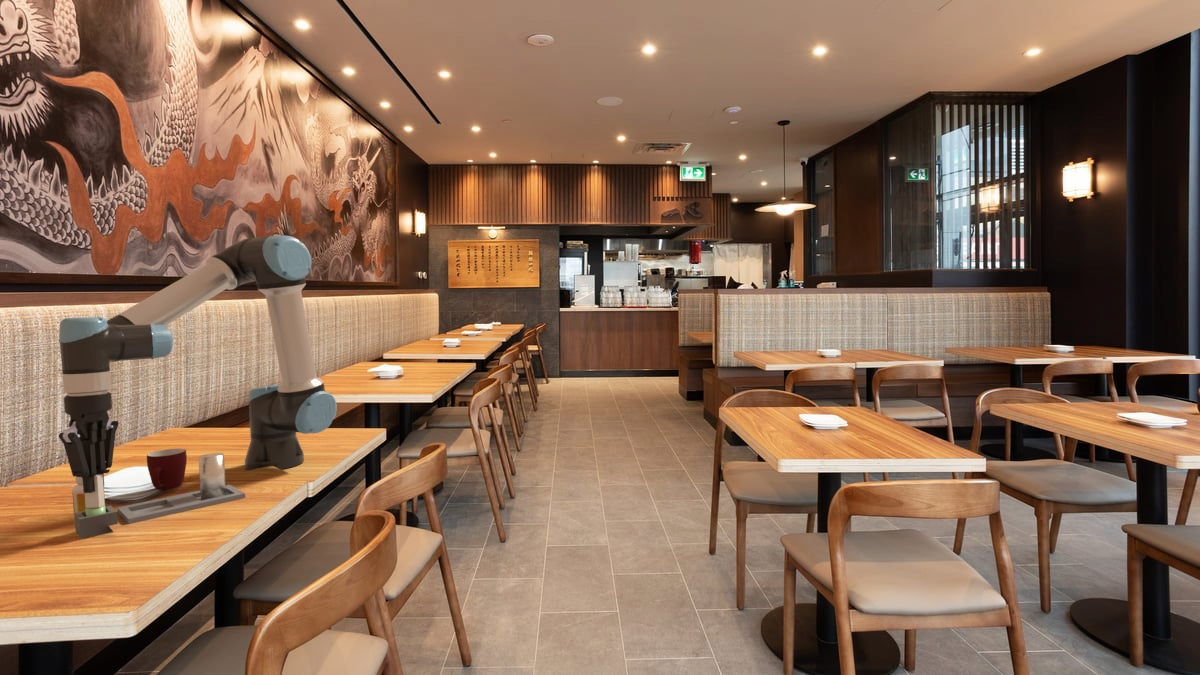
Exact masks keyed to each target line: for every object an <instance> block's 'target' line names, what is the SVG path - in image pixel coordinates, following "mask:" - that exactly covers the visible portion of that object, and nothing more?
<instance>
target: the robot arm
mask: <svg viewBox="0 0 1200 675" xmlns="http://www.w3.org/2000/svg"><path fill="white" fill-rule="evenodd" d="M311 268H312V256H311V253H310V252H309V249H308V248H307V247H306V245H305V244H304V243H303V242H302V241H300V240H299V239H298V238H296V237H295V236H292V235H283V234H282V235H281V234H280V235H279V234H274V235H269V236H267V235H266V236H257V237H247V238H244V239H242V240H240V241H237V242H235V243H233V244H231V245H229V246H228V247H226V248H224V249H223V250H221V251H219V252H217V253H216V254H214V255H212V256H210V257H209V258H207V259H206V262H205V265H203V266H201V267H199V268H198V269H196V270H194V271H193V272H191V273H189V274H188V275H185V276H184V277H181V278H180V279H178V280H176V281H175V282H173V283H171V284H170V285H168V286H166V287H164V288H163V289H161V290H158V291H157V292H156V293H155V292H154V294H152V295H151V296H149V297H147V298H144V299H143V300H141V301H139V302H138V303H136V304H135V305H133V306H131V307H129V308H127V309H125V310H124V311H122V312H120V313H118V314H117V315H115V316H113V317H111V318H109V319H106V318H105V317H101V316H98V317H97V316H94V317H93V316H92V317H67V318H66V317H65V318H64V319H62V320H61V321H60V323H59V329H58V330H59V332H58V335H59V336H58V337H59V339H58V342H59V348H60V350H59V351H60V358H61V368H62V369H61V371H62V372H61V373H62V383H63V384H62V386H63V388H62V389H63V393H65V394H66V395H65V396H64V397H63V406H64V413H65V414H66V415H69V418H70V419H69V422H68V426H69V427H68V429H67V430H66V431H65V432H59V434H58V438H59V440H60V442H61V443H63V447H64V450H65V453H66V456H67V457H66V458H67V461H68V464H69V467H70V468H69V469H70V472H71V474H72V477H75V478H76V477H82V479H83V491H84V493H85V506H86V508H98V507H101V506H104V505H105V506H106V501H105V502H104V495H105V476H104V474H108V473H110V468H111V467H112V466H113V460H114V459H113V458H114V449H115V442H116V432H117V430H118V426H119V420H111V419H110V414H108V412H109V411H111V410H112V409H113V399H112V398H113V397H112V393H111V392H110V390H111V389H112V378H111V371H110V370H111V368H110V364H111V362H112V363H113V362H114V363H116V362H122V361H137V360H139V361H140V360H146V359H147V360H154V359H157V358H158V359H159V358H165V357H167V356H168V355H170V354H171V353H172V351H173V348H174V337H173V333H172V332H171V330H170V329H169V327H168V325H170V324H171V323H173V322H174V321H176V320H177V319H179V318H181V317H182V316H184V315H185V314H188V312H191V311H193V309H195V308H197V307H199V306H200V305H203V303H206V302H207V301H209V300H210V299H213V298H215V296H217V295H219V294H221V293H222V292H223V291H226V290H229V291H232V290H235V289H236V288H238V287H239V286H241V285H244V284H247V283H252V282H256V287H257V290H258V291H259V292H260V293H262V294H263V295H264V296H265V299H266V303H267V310H268V315H269V320H270V326H271V330H272V335H273V336H272V337H273V340H274V345H275V351H276V358H277V362H278V367H279V372H280V377H281V383H280V384H275V385H268V386H259V387H254V388H252V389H250V391H249V392H248V402H247V404H248V410H249V411H248V413H249V429H250V430H249V431H250V442H249V446H248V449H247V452H246V455H245V459H244V469H245V470H247V471H251V470H257V469H262V468H267V467H275V468H277V469H278V470H285V469H289V468H293V467H296V466H299V465H301V464H303V463H304V461H305V454H304V450H303V448H302V446H301V444H300V441H299V439H298V437H297V433H301V434H303V435H308V434H312V435H313V434H320V433H322V432H324V431H325V430H326V429H328V428H329V427H330V425H332V422H333V420H335V418H336V416H337V410H338V405H337V400H336V399H335V397H334V395H332V394H331V393H329V392H328V391H326V388H325V383H324V380H323V379H321V378H319V377H318V376H317V372H316V367H315V366H316V365H315V360H314V356H313V350H312V345H311V341H310V340H311V338H310V334H309V328H308V322H307V316H306V311H305V310H306V309H305V306H304V301H303V294H302V290H303V289H304V288H305V286H306V285H307V283H306V276H308V275H309V273H310V270H311Z"/></svg>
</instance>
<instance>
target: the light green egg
mask: <svg viewBox="0 0 1200 675" xmlns="http://www.w3.org/2000/svg"><path fill="white" fill-rule="evenodd" d="M105 507H106V504H105V505H104V506H101V507H98V508H86V509H85V512H86V517H88V516H92V515H97V514H102V513H106V509H105Z"/></svg>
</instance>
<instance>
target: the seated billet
mask: <svg viewBox="0 0 1200 675" xmlns="http://www.w3.org/2000/svg"><path fill="white" fill-rule="evenodd" d="M225 470H226V468H225V454H224V452H223V453H222V452H215V453H214V452H212V453H207V454H206V453H205V454H202V455H199V456H198V475H199V489H200V490H199V491H200V494H201V501H202V500H206V499H211V498H216V497H220V496H225V495H226V485H227V484H226V471H225Z"/></svg>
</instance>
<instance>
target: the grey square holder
mask: <svg viewBox="0 0 1200 675" xmlns="http://www.w3.org/2000/svg"><path fill="white" fill-rule="evenodd" d="M105 509H106V513H102V514H97V515H92V516H88V517H86V512H85V511H81V512H76V513H74V512H73V515H74V514H75V520H74V525H75V533H76V535H77V536H78V537H79V539H80V540H84V539H86V538H91V537H95V536H100V535H105V534H109V533H113V532H114V531H113V529H112V528H111V527H110V526H113V525H118V522H119V521H118V512H117V509H115V508H114V507H113V506H112V505H107V506H106V505H105Z"/></svg>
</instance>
